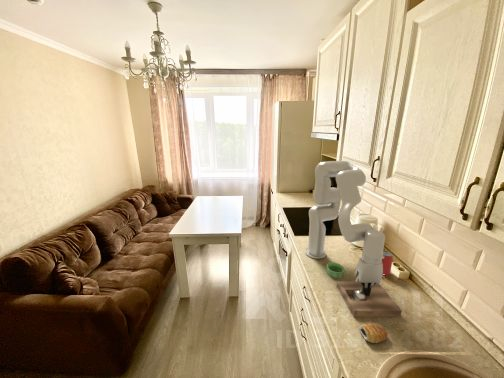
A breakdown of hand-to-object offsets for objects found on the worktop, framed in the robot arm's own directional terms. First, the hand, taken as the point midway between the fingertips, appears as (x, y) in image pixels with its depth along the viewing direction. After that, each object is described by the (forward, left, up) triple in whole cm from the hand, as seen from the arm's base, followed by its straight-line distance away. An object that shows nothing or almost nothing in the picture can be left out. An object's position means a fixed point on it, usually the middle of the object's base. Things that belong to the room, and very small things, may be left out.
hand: (365, 293), depth 97 cm
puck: (0, -2, -1) cm, 2 cm away
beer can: (-20, +20, -4) cm, 29 cm away
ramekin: (-19, -7, -4) cm, 21 cm away
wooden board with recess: (0, 0, -4) cm, 4 cm away
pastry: (+20, -4, -5) cm, 21 cm away
